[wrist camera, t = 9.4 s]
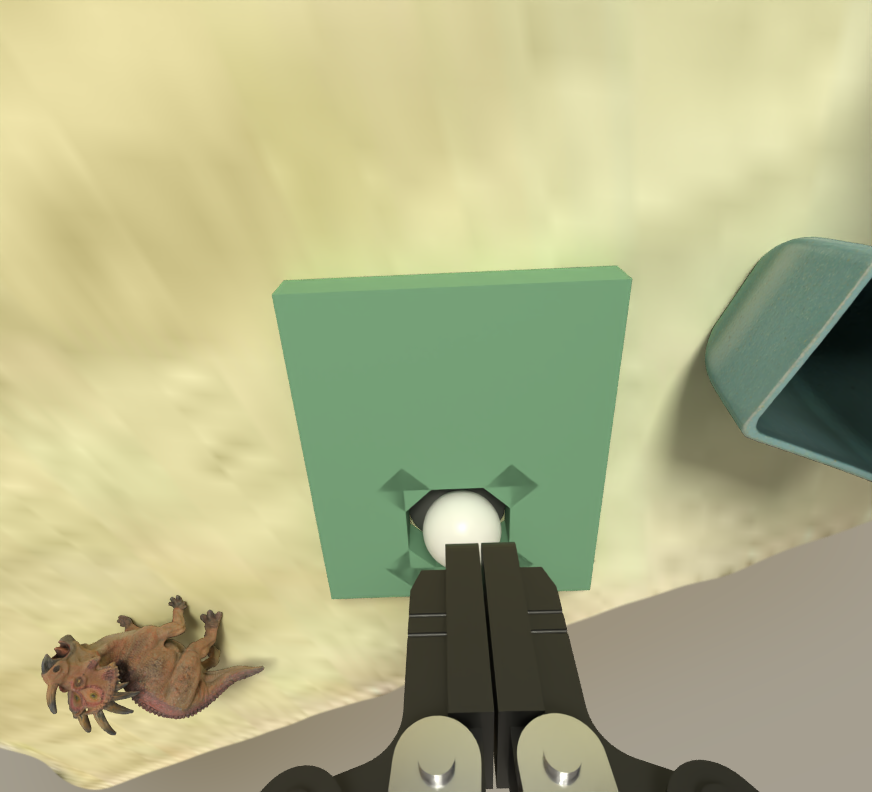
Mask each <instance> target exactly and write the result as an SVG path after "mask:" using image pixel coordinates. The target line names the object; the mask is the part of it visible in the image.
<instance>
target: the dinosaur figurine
mask: <svg viewBox="0 0 872 792" xmlns="http://www.w3.org/2000/svg"><path fill="white" fill-rule="evenodd" d="M170 600H171V602H169V606H172V607H173V608H174V609H173V620H172V622H171V623H167V624H164V625H162V626H161V627H157V626H153V625H150V626H144V627H142V628H139V627H137V626H136V625H134V624H133V622H132V620H131V619H130V618H129V617H127V616H119V617H118V618H119V619H118V620H117V622H118V623H120V626H122V627H125V632H122V633H117V634H112V635H108V636H105V637H103V638H102V639H100V640H98V641H97V642H95V643H92V644H90V645H88V644H81V645H80V644H79V642H77V641H76V640H75V639H74V638H73V637H72V636H71V635H66V636H64V637H63V638H61V639H60V640H59V643H60V647H56V648H54V650H55V651H56V653H57V654H56V655H55V656H53V657H52V658H51V657H50V656H49V655H48V654H46V655H45V657H44V659H43V661H42V674H41V675H42V677H43V680H44V681H45V683H46V684H47V685H48V688H47V695H46V698H47V704H48V707H49V709H50V711H51V712H52V713H53V714H56V713H57V708H56V700H55V696H56V690H57V687H58V686H59V689H60V691H62V692H67V691H68V704H69V709H70V711H71V712H72V713H73V717H74V718H75V719H77V718H78V720H79V722H80V725H81V726H82V727H83V729H84V730H85V731H86V732H89V733H90V732H91V724H90V721H89V718H88V715H89V714H93V715H94V718H95V720H96V721H97V723H98V724H99V726H100V727H101V728H102V729H103V730H104V731H106V732H107V733H108V734H110V735H116V732H115V731H114V730H113V729H112V728H111V726H110V725H109V723H108V722H107V720H106V718H105V716H104V713H103V711H102V710H103V709H104V710H107V711H110V712H113V713H117V714H129V713H133V712H134V711H133V710H130V709H128V708H126V707H123V706H121V705H118V704H117V703H116V702H115V701H116V700H122V699H126V698H130V697H132V700H134V701H135V704H137V703H138V706H139V707H140V706H142V709H145V710H146V711H149V713H152V712H153V713H154V715H156V714H157V715H158V716H162V717H166V718H171V719H172V718H174V719H181V718H185V716H186V717H188V718H189V717H190V715H191V716H194V714H197V712H201V710H202V709H204V708H205V707H208V705H209V704H211V703H212V702H213V701H215V700H216V698H218V697H219V695H221V694H222V692H224V691H225V690H226V689H227V688H228V687H229V686H230V685H232V684H234V682H236V681H238V680H241V679H245V678H246V677H250V676H252V675H255V674H257V673H259V672H261V671H262V670H264V667H263V666H259V667H248V666H233V667H230V668H226V669H222V670H218V671H207V670H209V669H210V668H212V667H215V666H216V665H217V664H218V663H219V657H220V651H219V649H216V647H215V645H213V644H214V643H215V641H216V638H217V630H218V627H219V624H220V623H219V622H220V620H221V618H222V612H217V613H216V614H214V613H213V612H212V611H211V610H209V611H208V612H207V616H206V615H204V614H202V615H201V616H200V619H201V620H202V621H203V622H204V623H205V630H206V632H205V635H204V638H202V639H200V640H198V641H196V642H192V643H191V644H190V645H189V646H188V647H187V648H186V647H185V646H183V645H182V644H180V643H179V642H177V641H175V640H173V639H168V638H171V637H175V636H178V635H181V634H183V633H184V632H185V630H186V623H185V620H184V616H183V613H184V609H185V608H186V607H187V605H185V604H186V602H183V601H182V598H181V597H180V596H178V595H177V596H176V599H175V598H173V597H171V598H170ZM206 655H208V656H209V658H208V659H206V660H205V661H202V662H201V659H202V658H204V657H206ZM119 682H121V683H120V684H119ZM122 688H124V690H125V691H126V692H118V690H120V689H122ZM86 708H88V711H87V712H86Z"/></svg>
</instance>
